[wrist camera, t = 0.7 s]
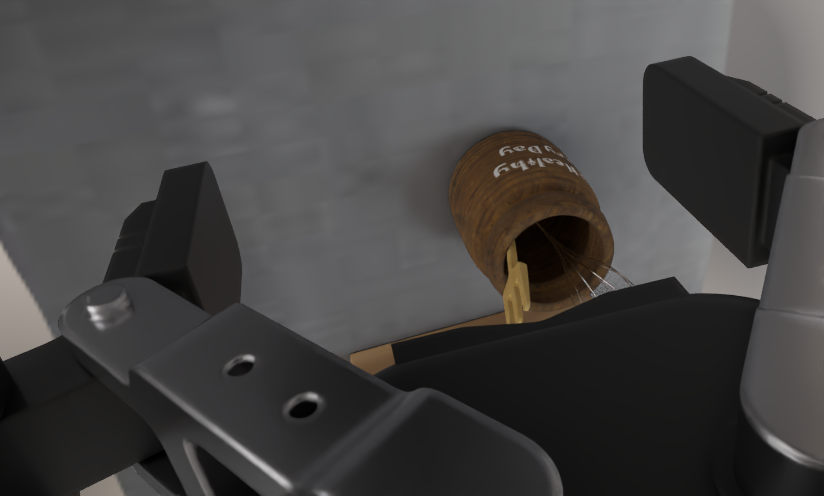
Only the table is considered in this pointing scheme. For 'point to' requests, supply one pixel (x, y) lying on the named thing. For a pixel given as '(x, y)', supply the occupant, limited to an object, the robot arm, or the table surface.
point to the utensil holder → (530, 223)
